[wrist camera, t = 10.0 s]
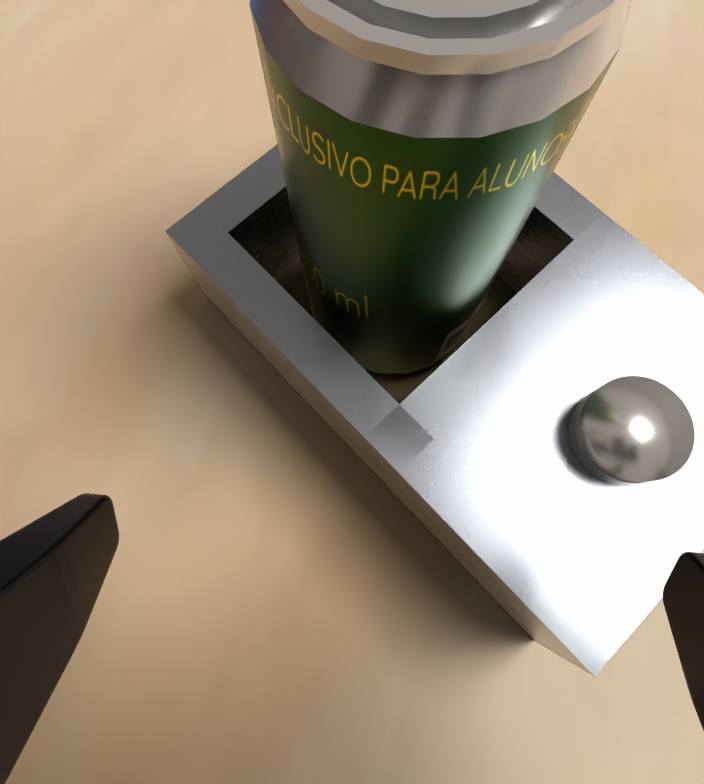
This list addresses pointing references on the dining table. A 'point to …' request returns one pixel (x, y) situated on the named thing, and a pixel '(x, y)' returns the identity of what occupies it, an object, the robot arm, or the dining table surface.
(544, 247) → the jig
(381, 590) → the dining table surface
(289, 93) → the beer can
